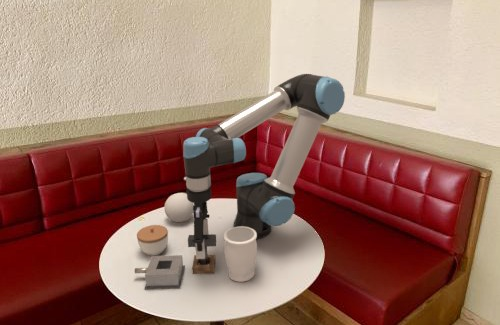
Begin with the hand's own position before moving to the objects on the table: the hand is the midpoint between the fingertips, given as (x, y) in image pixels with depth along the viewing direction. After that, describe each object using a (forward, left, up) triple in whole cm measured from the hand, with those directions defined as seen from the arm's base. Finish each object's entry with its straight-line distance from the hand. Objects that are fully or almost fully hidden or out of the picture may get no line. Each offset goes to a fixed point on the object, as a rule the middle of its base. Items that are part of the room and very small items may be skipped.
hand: (202, 246), depth 124 cm
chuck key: (0, 0, -8) cm, 8 cm away
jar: (-12, +4, -8) cm, 16 cm away
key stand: (0, 0, -8) cm, 8 cm away
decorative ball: (+13, -33, -8) cm, 36 cm away
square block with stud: (+14, +5, -8) cm, 17 cm away
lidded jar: (+19, -11, -8) cm, 23 cm away
